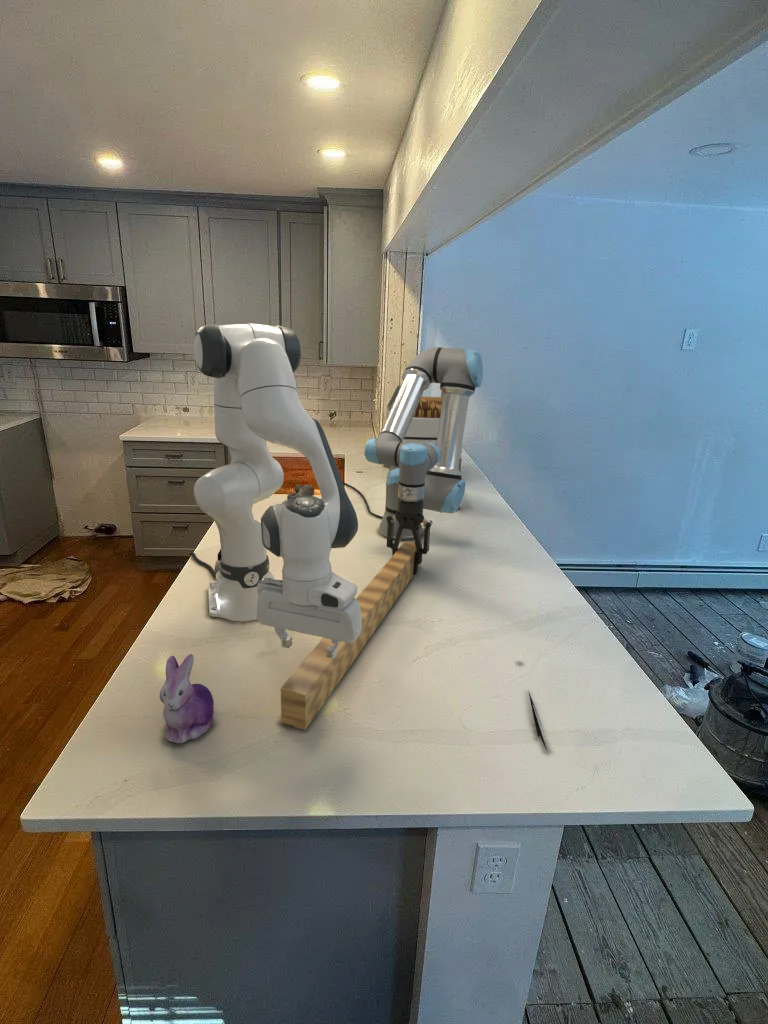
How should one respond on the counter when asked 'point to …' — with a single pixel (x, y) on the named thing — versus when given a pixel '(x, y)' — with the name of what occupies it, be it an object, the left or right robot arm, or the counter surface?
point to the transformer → (422, 422)
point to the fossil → (302, 491)
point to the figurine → (185, 702)
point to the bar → (344, 643)
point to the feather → (536, 721)
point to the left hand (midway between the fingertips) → (309, 651)
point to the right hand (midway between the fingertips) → (406, 571)
